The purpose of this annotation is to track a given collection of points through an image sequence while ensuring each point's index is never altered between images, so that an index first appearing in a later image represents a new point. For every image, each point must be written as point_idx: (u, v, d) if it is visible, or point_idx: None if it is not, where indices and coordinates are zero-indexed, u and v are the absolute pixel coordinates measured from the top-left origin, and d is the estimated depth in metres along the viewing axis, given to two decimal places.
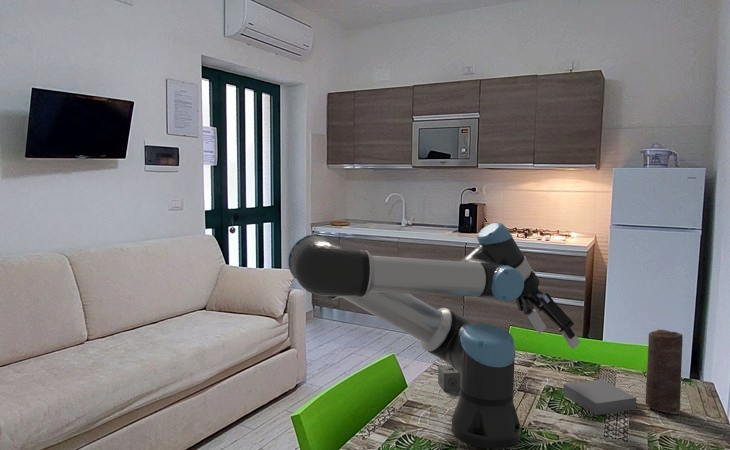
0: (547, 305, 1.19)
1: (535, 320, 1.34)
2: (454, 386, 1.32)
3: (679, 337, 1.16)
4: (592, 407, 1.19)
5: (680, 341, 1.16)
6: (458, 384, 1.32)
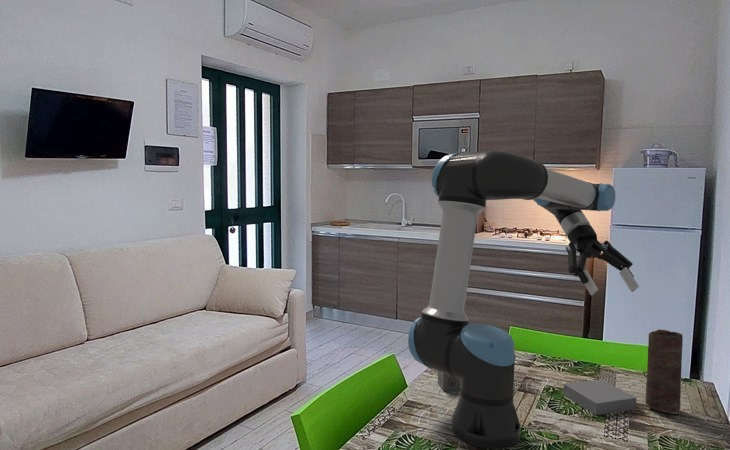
0: None
1: None
2: (454, 386, 1.32)
3: (679, 337, 1.16)
4: (592, 407, 1.19)
5: (680, 341, 1.16)
6: (458, 384, 1.32)
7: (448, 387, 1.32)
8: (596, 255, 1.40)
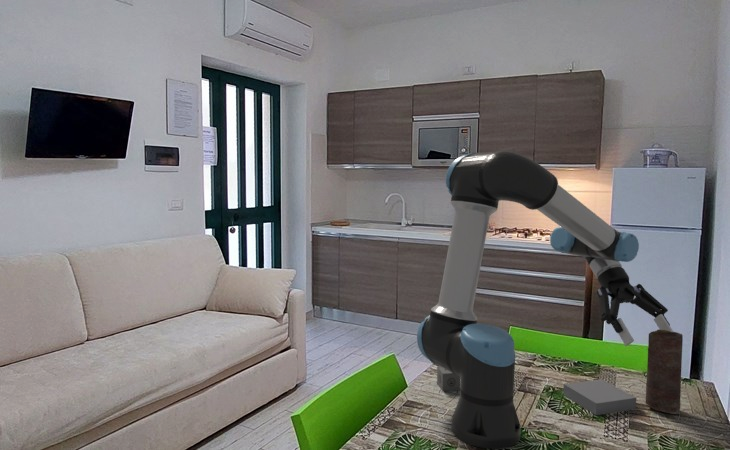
0: None
1: None
2: (453, 386, 1.32)
3: (679, 337, 1.16)
4: (592, 407, 1.19)
5: (680, 341, 1.16)
6: (457, 384, 1.32)
7: (447, 387, 1.32)
8: (629, 300, 1.32)
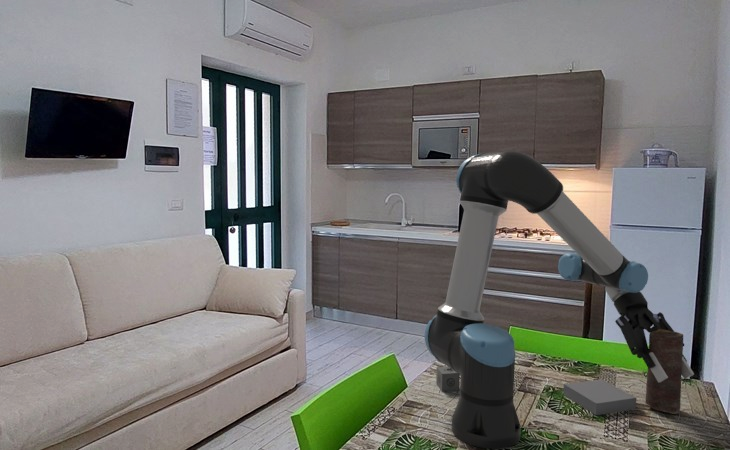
0: None
1: None
2: (452, 387, 1.32)
3: (680, 337, 1.16)
4: (592, 407, 1.19)
5: (681, 341, 1.16)
6: (457, 384, 1.32)
7: (447, 387, 1.32)
8: (648, 327, 1.25)
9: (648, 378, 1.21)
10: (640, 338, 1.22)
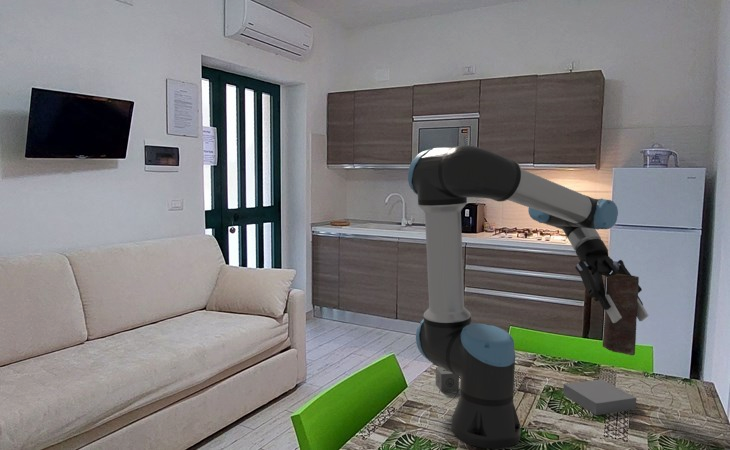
0: None
1: None
2: (452, 387, 1.32)
3: (634, 278, 1.18)
4: (592, 407, 1.19)
5: (636, 282, 1.18)
6: (456, 384, 1.32)
7: (446, 388, 1.31)
8: (607, 273, 1.28)
9: (605, 321, 1.23)
10: (598, 282, 1.24)
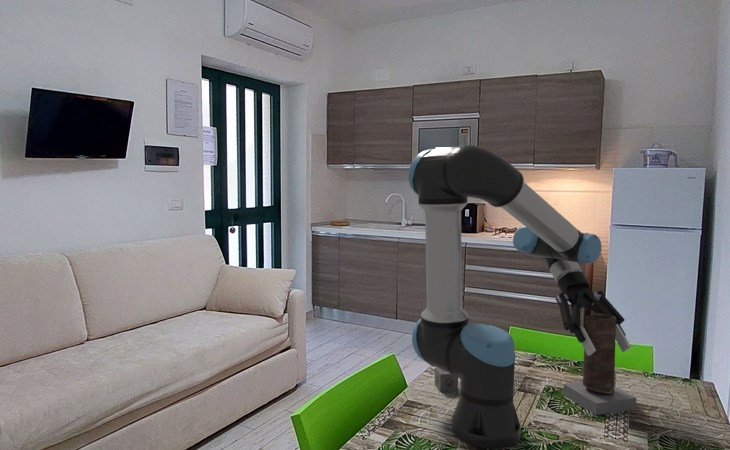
0: None
1: None
2: (451, 387, 1.31)
3: (612, 319, 1.20)
4: (592, 407, 1.19)
5: (613, 323, 1.20)
6: (455, 385, 1.32)
7: (445, 388, 1.31)
8: (587, 305, 1.29)
9: (584, 360, 1.25)
10: (575, 314, 1.26)
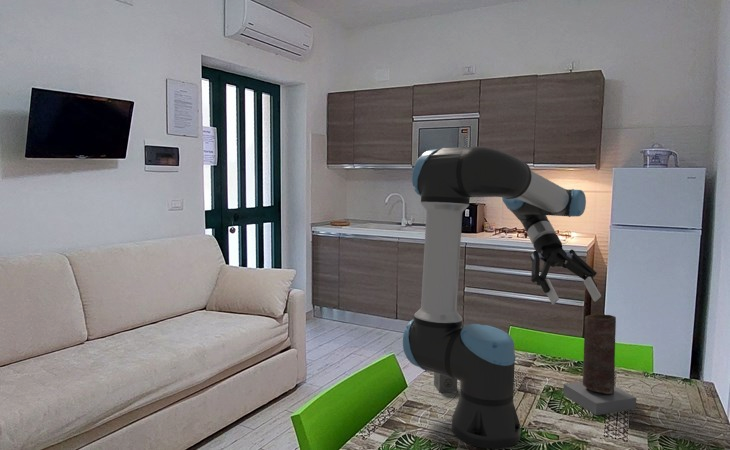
0: None
1: None
2: (450, 387, 1.31)
3: (611, 319, 1.20)
4: (592, 407, 1.19)
5: (613, 323, 1.20)
6: (454, 385, 1.31)
7: (444, 388, 1.31)
8: (560, 264, 1.40)
9: (584, 360, 1.25)
10: (544, 269, 1.37)
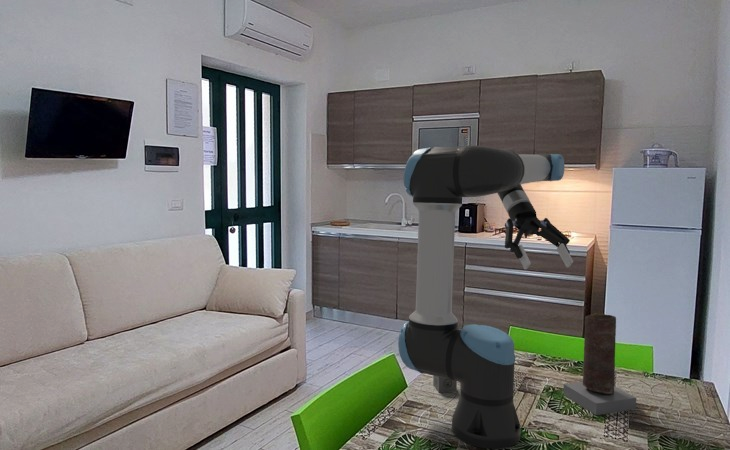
0: None
1: None
2: (449, 388, 1.31)
3: (612, 319, 1.20)
4: (592, 407, 1.19)
5: (613, 323, 1.20)
6: (454, 385, 1.31)
7: (444, 389, 1.31)
8: (534, 232, 1.42)
9: (584, 360, 1.25)
10: (517, 235, 1.38)
